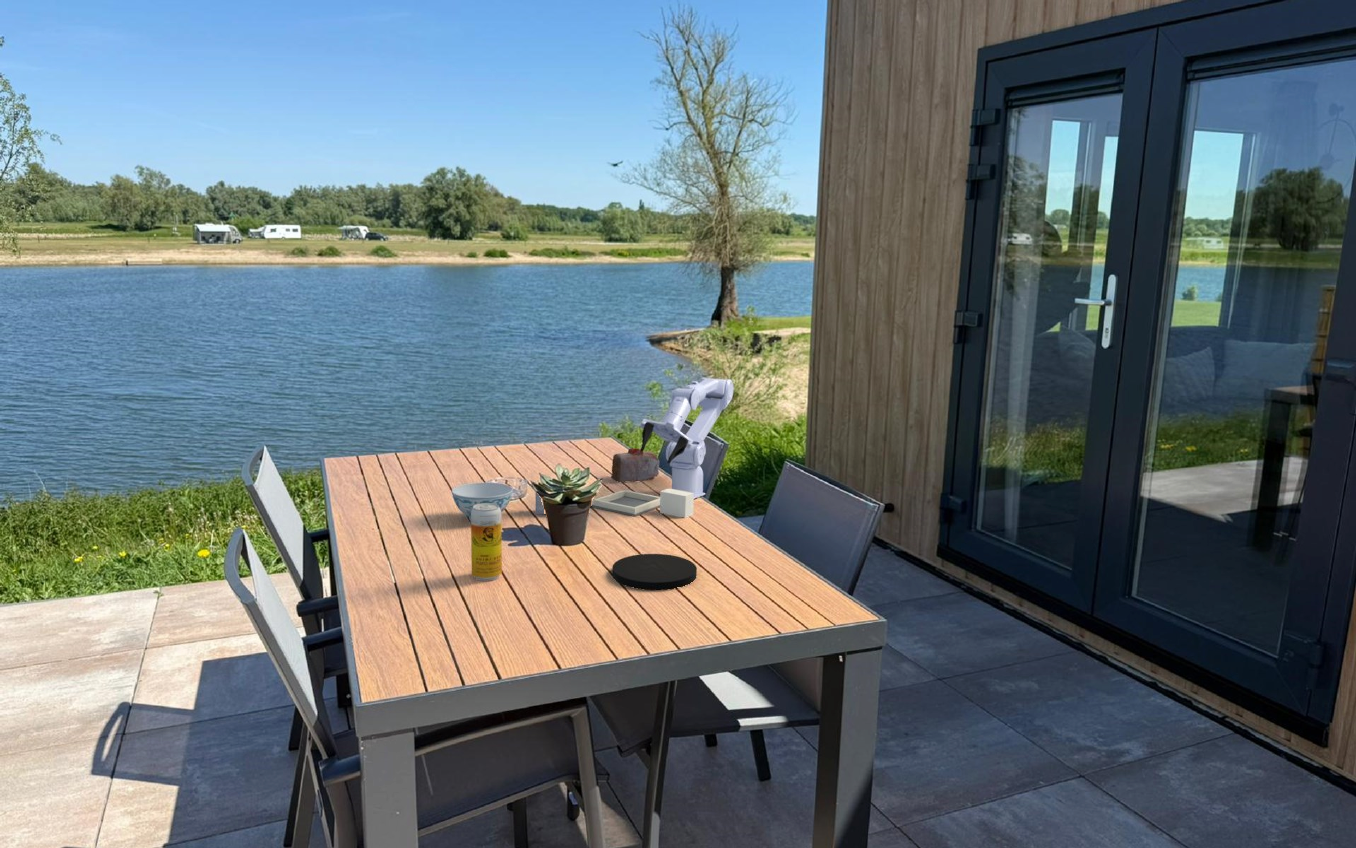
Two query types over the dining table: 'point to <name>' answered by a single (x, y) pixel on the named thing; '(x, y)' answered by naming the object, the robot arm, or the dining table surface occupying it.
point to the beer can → (486, 541)
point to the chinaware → (481, 495)
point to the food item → (634, 466)
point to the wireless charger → (654, 571)
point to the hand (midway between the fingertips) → (655, 454)
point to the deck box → (676, 502)
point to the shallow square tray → (627, 502)
